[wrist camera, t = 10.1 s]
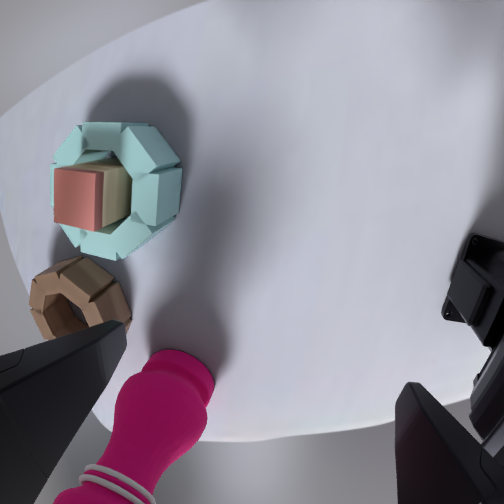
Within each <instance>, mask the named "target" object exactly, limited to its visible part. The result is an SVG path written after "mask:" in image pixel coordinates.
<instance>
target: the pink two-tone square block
mask: <svg viewBox="0 0 504 504" xmlns="http://www.w3.org/2000/svg"><path fill="white" fill-rule="evenodd" d="M132 182H133V179H132V177H131V176H130V174H129V173H128V172H127V170H126V169H125V167H124V166H123V165H122V163H121V162H120V160H119V159H115V158H107V159H101V160H96V161H90V162H85V163H80V164H74V165H69V166H65V167H60V168H55V169H54V222H56V223H60V224H64V225H68V226H72V227H76V228H80V229H84V230H89V231H93V232H95V231H97V230H99V229H101V228H103V227H105V226H107V225H109V224H111V223H113V222H115V221H117V220H119V219H121V218H123V217H125V216H128V215H130V214H131V202H132Z"/></svg>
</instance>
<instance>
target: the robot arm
mask: <svg viewBox="0 0 504 504" xmlns="http://www.w3.org/2000/svg"><path fill="white" fill-rule="evenodd" d="M475 238H476V241H475V243H472V241H473V239H475ZM447 295H448V296H447V299H446V302H445V304H444V307H443V309H442V312H441V313H442V316H443V318H444V319H445V320H449V321H456V322H462V323H467V325H468V326H471V328H472V329H473V331H474V332H475V334H476V335H477V337H478V338H479V340H480V341H481V343H482V344H483V346H486V347H488V348H489V350H490V351H491V354H490V355H489V357H488V359H487V361H486V363H485V365H484V366H483V368H482V370H481V371H480V373H478V374H477V376H476V377H475V379H474V381H473V383H474V388H473V391H472V394H471V397H470V400H471V410H472V411H471V413H470V415H469V418H470V420H471V423H472V425H473V427H474V429H475V431H476V432H477V433H478V435H479V436H480V438H481V439H482V440H483V442H482V443H481V444H480V443H479V442H478V441H477V440H476V439H475V438H473V436H472V435H471V434H470V433H469V432H468V431H467V430H466V429H465V428H464V427H463V426H462V425H461V424H460V423H459V422H458V421H457V420H456V419H455V418H454V417H453V416H452V415H451V414H450V413H449V412H448V411H447V410H446V409H445V408H444V407H443V406H442V405H441V404H440V403H439V402H438V401H437V400H436V399H435V398H434V397H433V396H432V395H431V394H430V393H429V392H428V391H427V390H426V389H425V388H424V387H423V386H422V385H421V384H420V383H417V382H408V383H406V385H405V386H404V388H403V390H402V392H401V393H400V395H399V397H398V399H397V401H396V405H395V458H396V473H397V494H398V504H504V242H503V241H500V240H497V239H494V238H490V237H487V236H483V235H480V234H477V233H472V234H470V235H469V236H468V238H467V242H466V245H465V248H464V251H463V254H462V257H461V260H460V261H459V262H458V265H457V268H456V271H455V274H454V277H453V279H452V282H451V285H450V287H449V290H448V293H447ZM448 311H450V313H449V314H446V313H447V312H448ZM126 346H127V339H126V327H125V324H124V323H123V322H121V321H118V320H115V319H112V320H109V321H106V322H103V323H100V324H97V325H94V326H91V327H88V328H85V329H82V330H79V331H76V332H73V333H70V334H67V335H64V336H61V337H58V338H55V339H52V340H49V341H46V342H43V343H40V344H37V345H33V346H30V347H28V348H25V349H21V350H18V351H15V352H12V353H8V354H5V355H1V356H0V504H34V502H35V500H36V499H37V497H38V495H39V494H40V492H41V490H42V489H43V487H44V485H45V483H46V482H47V480H48V479H47V478H49V476H50V475H51V473H52V471H53V470H54V468H55V466H56V465H57V463H58V461H59V460H60V458H61V457H62V455H63V453H64V452H65V450H66V449H67V447H68V445H69V444H70V442H71V441H72V439H73V437H74V436H75V434H76V433H77V431H78V429H79V428H80V426H81V425H82V423H83V422H84V420H85V418H86V417H87V415H88V414H89V412H90V411H91V409H92V408H93V406H94V405H95V403H96V402H97V400H98V398H99V397H100V395H101V394H102V392H103V391H104V389H105V388H106V386H107V384H108V383H109V381H110V379H111V377H112V375H113V373H114V371H115V369H116V367H117V365H118V363H119V361H120V359H121V357H122V355H123V353H124V351H125V349H126Z"/></svg>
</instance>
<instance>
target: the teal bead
mask: <svg viewBox="0 0 504 504" xmlns="http://www.w3.org/2000/svg"><path fill="white" fill-rule="evenodd" d="M110 151H113V152H114V153H115V155H116V156H117V157H118V159H119V160H120V162H121V163H122V165H123V166H124V167H125V169H126V170H127V172H128V173H129V174H130V176H131V177H132V179H133V182H132V202H131V215H130V216H129V217H128V218H127V219H126V218H121V219H119V220H117V221H115V222H113V223H111V224H109V225H107V226H105V227H103V228H101V229H99V230H97V231H95V232H93V231H89V230H84V229H80V228H76V227H72V226H68V225H64V224H60V223H59V224H60V226H61V227H62V229H63V230H64V232H65V233H66V235H67V236H68V238H69V239H70V241H71V242H72V244H73V245H74V246H75V248H76V247H78V246H81V252H83V253H87V254H90V255H94V256H98V257H102V258H106V259H110V260H114V261H117V260H118V259H120V258H121V259H122V260H123V259H124V258H125V257H127V256H128V255H130V254H131V253H133V252H134V251H135V250H137V249H138V248H140V247H141V246H143V245H144V244H146V243H147V242H148V241H149V240H151V239H152V238H153V237H154V236H155V235H157V234H158V233H159V232H160V231H161V230H163V229H164V228H165V227H166V226H167V225H169V224H170V223H171V222H172V221H174V220H175V218H174V215H175V214H177V213H179V203H180V191H181V180H182V170H183V168H176V167H174V166H175V165H176V164H177V163H179V162H180V159H179V158H178V157H177V155H176V154H175V153H174V151H173V150H172V149H171V147H170V146H169V145H168V143H167V142H166V140H165V139H164V138H163V136H162V135H161V134H160V132H159V131H158V130H157V128H156V127H152V126H149V123H130V122H83V125H77V126H76V127H75V128H74V130H73V131H72V132H71V133H70V135H69V136H68V137H67V139H66V140H65V141H64V142H63V144H62V145H61V146H60V148H59V149H58V150H57V152H56V153H55V155H54V156H53V158H54V160H55V162H56V163H53V164H51V168H50V197H51V207H54V169H55V168H60V167H65V166H69V165H74V164H80V163H85V162H90V161H96V160H101V159H104V158H105V157H106V156H107V154H108V153H109V152H110ZM53 215H54V213H53Z"/></svg>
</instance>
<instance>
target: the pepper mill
mask: <svg viewBox="0 0 504 504" xmlns="http://www.w3.org/2000/svg"><path fill="white" fill-rule="evenodd" d="M213 391H214V381H213V378H212V375H211V373H210V371H209V370H208V369H207V368H206V367H205V366H204V364H203V363H202V362H200V361H199V360H198V359H196V358H195V357H193V356H191V355H189V354H187V353H185V352H181V351H178V350H168V349H167V350H161V351H158V352H156V353H154V354H153V355H152V356H151V357H150V359H149V360H148V361H147V363H146V364H145V366H144V367H143V369H142V371H141V372H139V373H137V374H134V375H133V376H131V377H129V378H128V380H127V381H126V382H125V383H124V385H123V386H122V388H121V390H120V392H119V394H118V397H117V400H116V404H115V412H114V425H113V431H112V435H111V439H110V442H109V444H108V446H107V448H106V450H105V452H104V454H103V455H102V457H101V458H100V460H99V461H98V462H97V463H96V464H92V465H88V466H86V468H85V472H84V474H83V475H81V476H80V477H79V482H80V484H81V486H80V487H76V488H70V489H67V490H65V491H63V492H61V493H60V494H59V495H58V496H57V497H56V499H55V501H54V503H53V504H155V499H154V498H153V496H152V495H153V492H154V488H155V486H156V484H157V482H158V480H159V479H160V477H161V475H162V473H163V472H164V471H165V470H166V469H167V468H168V467H169V465H171V464H172V463H173V462H174V461H176V460H177V459H178V458H179V457H180V456H182V455H183V454H184V453H186V452H187V451H188V450H189V449H190V448H192V446H193V445H194V444H195V443H196V442H197V441H198V440H199V438H200V437H201V435H202V433H203V431H204V429H205V427H206V424H207V412H206V407H207V405H208V403H209V401H210V398H211V396H212V394H213Z"/></svg>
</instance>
